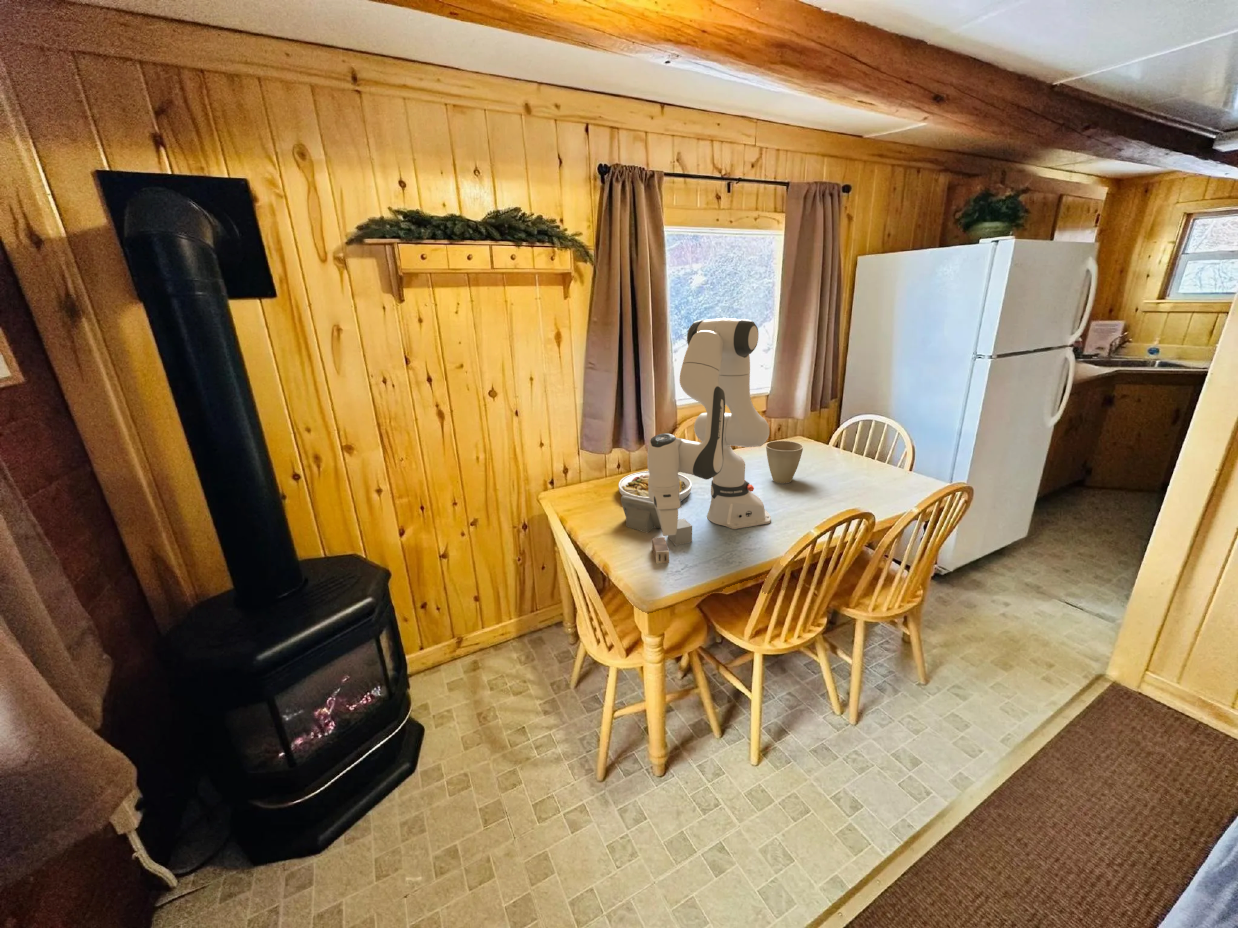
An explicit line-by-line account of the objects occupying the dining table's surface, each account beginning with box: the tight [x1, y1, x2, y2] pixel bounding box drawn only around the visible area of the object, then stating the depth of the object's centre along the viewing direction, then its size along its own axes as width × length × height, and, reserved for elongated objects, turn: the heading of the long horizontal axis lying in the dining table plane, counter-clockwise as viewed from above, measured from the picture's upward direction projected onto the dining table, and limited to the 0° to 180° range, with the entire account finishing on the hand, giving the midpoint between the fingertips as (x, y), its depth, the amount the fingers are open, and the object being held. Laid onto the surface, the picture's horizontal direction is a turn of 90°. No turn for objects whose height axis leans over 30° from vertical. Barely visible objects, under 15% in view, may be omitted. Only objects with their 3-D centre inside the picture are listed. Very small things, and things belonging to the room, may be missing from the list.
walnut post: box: [651, 536, 670, 564], centre depth 150 cm, size 4×4×9 cm
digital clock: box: [620, 495, 661, 533], centre depth 169 cm, size 16×9×11 cm, turn 45°
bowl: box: [618, 470, 692, 502], centre depth 197 cm, size 30×30×8 cm
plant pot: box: [765, 440, 804, 484], centre depth 203 cm, size 15×15×16 cm
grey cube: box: [667, 518, 693, 546], centre depth 159 cm, size 6×6×6 cm
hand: (664, 533), depth 141 cm, fingers closed
